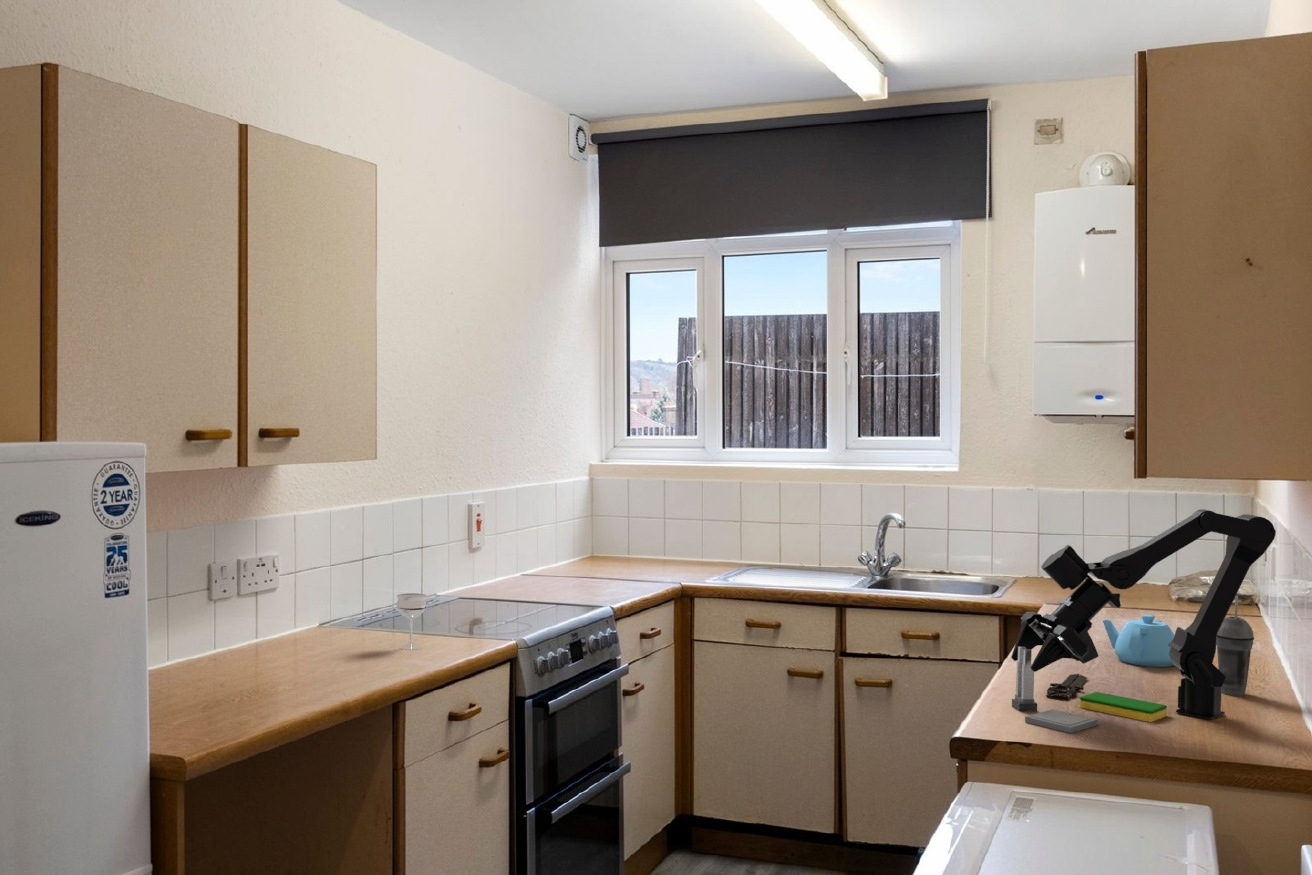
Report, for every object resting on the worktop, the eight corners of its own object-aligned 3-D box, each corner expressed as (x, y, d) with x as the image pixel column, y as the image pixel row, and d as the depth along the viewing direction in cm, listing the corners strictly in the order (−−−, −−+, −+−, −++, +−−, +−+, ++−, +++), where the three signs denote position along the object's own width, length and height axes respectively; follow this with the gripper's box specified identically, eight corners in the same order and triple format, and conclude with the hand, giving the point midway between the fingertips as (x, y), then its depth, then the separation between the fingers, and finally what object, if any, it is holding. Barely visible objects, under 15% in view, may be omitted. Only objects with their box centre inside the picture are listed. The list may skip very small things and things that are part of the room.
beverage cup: (1247, 690, 233) (1249, 593, 232) (1257, 698, 226) (1260, 598, 225) (1208, 687, 234) (1211, 591, 234) (1217, 695, 227) (1220, 596, 227)
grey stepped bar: (1029, 706, 216) (1030, 646, 216) (1037, 711, 212) (1038, 650, 212) (1011, 706, 216) (1012, 646, 215) (1019, 711, 212) (1020, 650, 212)
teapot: (1098, 654, 267) (1099, 609, 267) (1159, 654, 269) (1160, 609, 268) (1132, 669, 252) (1133, 620, 252) (1196, 668, 253) (1197, 620, 253)
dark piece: (1072, 676, 245) (1072, 670, 245) (1103, 681, 241) (1103, 674, 241) (1036, 698, 224) (1036, 691, 224) (1070, 703, 221) (1070, 696, 221)
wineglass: (397, 644, 263) (398, 593, 263) (427, 644, 264) (427, 593, 263) (393, 650, 256) (394, 597, 256) (423, 650, 257) (424, 597, 257)
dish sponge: (1151, 724, 206) (1151, 710, 206) (1078, 709, 216) (1078, 696, 216) (1167, 717, 211) (1167, 704, 211) (1095, 703, 221) (1095, 691, 221)
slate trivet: (1097, 725, 203) (1097, 719, 203) (1070, 733, 197) (1070, 727, 197) (1052, 714, 210) (1052, 708, 210) (1024, 721, 204) (1025, 716, 204)
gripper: (1133, 647, 206) (1072, 707, 205) (1086, 628, 225) (1030, 683, 224) (1092, 603, 205) (1031, 663, 205) (1048, 588, 224) (993, 643, 223)
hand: (1022, 664), depth 214 cm, fingers open, 9 cm apart
